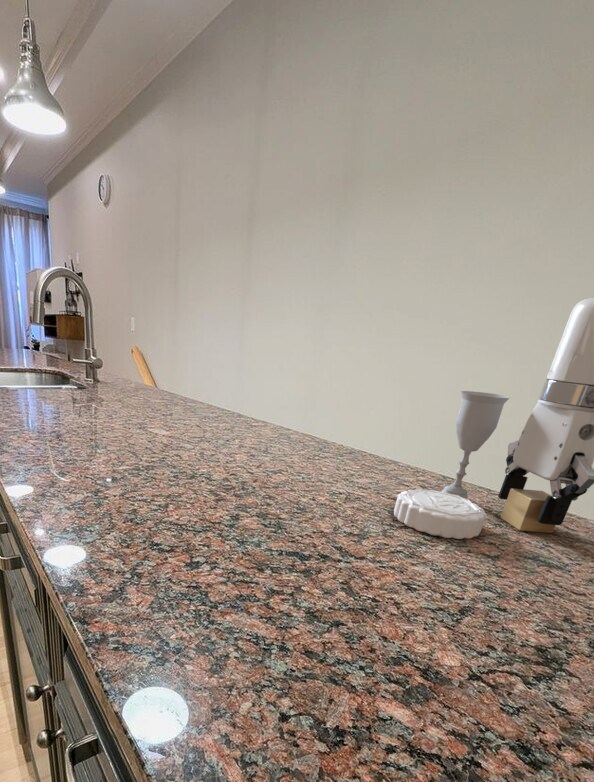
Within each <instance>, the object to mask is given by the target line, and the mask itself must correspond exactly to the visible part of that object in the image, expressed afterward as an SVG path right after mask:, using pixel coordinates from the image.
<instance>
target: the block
mask: <svg viewBox="0 0 594 782" xmlns="http://www.w3.org/2000/svg"><path fill="white" fill-rule="evenodd" d="M547 496H552V494H549V493H548V492H545V491H544V490H539V489H538V490H536V489H514V488H511V489H510V492H509V495H508V498H507V500H506V499H505V500H506V501H505V504H504V507H503V509H502V512H501V514H500V519H502V520H504V521H505V522H506V523H508V525H511V526H512V527H513V528H515V529H517V530H518V531H520V532H521V531H523V532H533V533H547V534H553V532H554V530H555V528H556V525H551V524H541V523H539V522H538V517H539V515H540V512H541V510H542V507H543V505H544V503H545V500H546V498H547Z"/></svg>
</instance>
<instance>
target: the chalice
mask: <svg viewBox="0 0 594 782" xmlns="http://www.w3.org/2000/svg"><path fill="white" fill-rule="evenodd" d="M460 392H461V398H462V399H461V403H460V407H459V411H458V414H457V417H456V420H455V428H456V430H455V431H456V438H457V442H458V448H459V449H460V450H462V451H463V455H462V457H461V459H460V460H459V461H458V463H459V468H458V469H457V470H456V471H455V472H454V473H455V474H456V475H455V477H456V479H455V480H454V482H452V483H451V484H447V485H445V486H444V487H443V489H442V490H441V491H440V492H443V493H447V494H453V495H458V496H460V497H462V498H465V499H468V498H469V497H468V491H467V490H468V489H467V488H466V487H464V486H463V484H462V481H463V479H464V477H465V476H467V472H466V468H467V467H468V465H470V462H469V461H470V460H469V459H470V456H471V454H472V453H473V452H477V451H478V450H479V449H481V447H482V446H483V445H484V444H485V443H486V442H487V441H488V440H489V438H491V436H492V435H493V434H494V432H495V430H496V429H497V427H498V423H499V421H500V418H501V415H502V411H503V409H504V405H505V403H506V402H507V401H508V400H509V399H510V398H511V397H510V396H508V395H503V394H497V393H492V392H490V393H489V392H482V391H473V390H472V391H471V390H462V391H460Z"/></svg>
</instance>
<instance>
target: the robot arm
mask: <svg viewBox="0 0 594 782" xmlns="http://www.w3.org/2000/svg"><path fill="white" fill-rule="evenodd" d="M548 370H549V371H548V373H547V376H546V379H545V381H544V384H543V386H542V388H541V391H540V394H539V397H538V399H537V401H536V404H535V406H534V407H533V409H532V411H531V413H530V414H529V417H528V419H527V420H526V423H525V425H524V427H523V429H522V431H521V433H520V436H519V438H518V440H515V441H512V442H509V444H508V445H507V456H506V459H505V463H506V467H505V469H504V473H505V476H504V479H503V482H502V485H501V486H500V487H501V488H500V490H499V492H498V496H497V497H498V498H499V499H500V500H507V498H508V495H509V492H510V489H511V488H514V489H524V488H525V487H526V483H527V481H528V479H529V477H527V476H526V475H527V474H529V473H531V474H533V475H534V476H538V477H539V478H542V479H544V480H547V481H549V485H550V491H551V496H547V498H546V500H545V503H544V505H543V507H542V510H541V512H540V515H539V517H538V522H539V523H541V524H551V525H555V526H561V525H562V524H563V522H564V520H565V518H566V516H567V513H568V511H569V509H570V507H571V504H572V502H573V501H574V502H575V501H577V500H578V499H579V497H581V496H582V495H584V494H586V493H587V492H588V489H590V488H591V487H593V485H594V468H593V464H594V297H588V298H584V299H582V300H580V301H578V302H577V303H576V304H575V306H573V308H572V310H571V312H570V314H569V317H568V320H567V322H566V325H565V327H564V330H563V333H562V335H561V338H560V341H559V343H558V346H557V349H556V351H555V354H554V357H553V360H552V362H551V365H550V368H549V369H548ZM562 484H564V485H565V486H564V487H563V488H562Z"/></svg>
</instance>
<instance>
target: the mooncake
mask: <svg viewBox="0 0 594 782" xmlns="http://www.w3.org/2000/svg"><path fill="white" fill-rule="evenodd" d="M393 512H394V513H393V516H394V517H395V518H397V520H398V521H399V522H400V523H403V524H404V526H406V527H409V528H412V529H414V530H416V531H418V532H421V533H426V534H428V535H431V536H435V537H436V536H437V537H441V538H444V539H455V540H462V539H469V540H470V539H472V538H474V537H476V538H477V537H478V536H479V535H480V533H481V532H482V529H483V526H484V523H485V520H486V517H487V513H486V512H485V509H484V508H482V507H480V506H479V504H477V503H474V502H472V501H471V500H470V499H468V498H467V499H465V498H462V497H460V496H458V495H453V494H447V493H443V492H441V491H439V490H435V489H425V488H418V489H409V490H402V491H401V492H400V493H398V495H397V497H396V501H395V505H394V509H393Z"/></svg>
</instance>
